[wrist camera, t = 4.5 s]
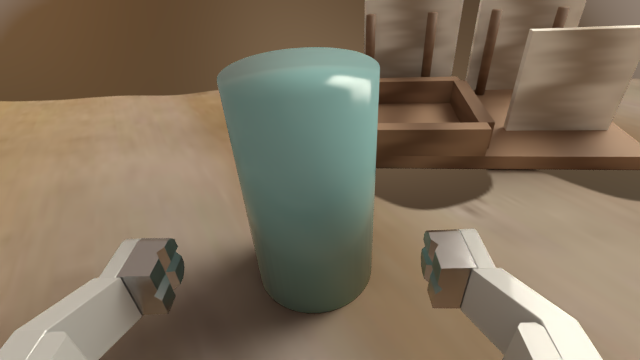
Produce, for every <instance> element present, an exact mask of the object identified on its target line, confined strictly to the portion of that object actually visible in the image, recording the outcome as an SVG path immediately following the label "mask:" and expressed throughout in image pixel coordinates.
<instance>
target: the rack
mask: <svg viewBox="0 0 640 360" xmlns="http://www.w3.org/2000/svg"><path fill="white" fill-rule="evenodd" d="M585 4H586V0H480V5H479V10H478V15H477V21H476V26H475V31H474V37H473V42H472V48H471V53H470V59H469V64H468V70H467V75H466V80H459V78H458V77H457V76H453V77H451V75H452V69H453V63H454V57H455V50H456V43H457V38H458V31H459V25H460V19H461V13H462V6H463V0H365V32H364V33H365V34H364V54H365V55H368V56H370V57H372V58H373V59H375V60H376V61H377V62H378V63H379V66H380V79H379V102H378V126H377V149H376V168H432V169H439V168H440V169H441V168H442V169H444V168H445V169H578V170H579V169H580V170H591V169H592V170H640V143H639V142H638V141H636V140H635V139H634V138H632V137H631V136H630V135H628V134H627V133H626V132H625V131H623V130H622V129H621V128H619V127H618V126H617V125H615V124H614V123H613V122H612V120H613V118H614V115H615V113H616V111H617V109H618V107H619V104H620V102H621V100H622V98H623V96H624V93H625V91H626V89H627V87H628V85H629V83H630V80H631V78H632V76H633V74H634V71H635V69H636V67H637V65H638V63H639V61H640V25H632V26H604V27H578V24H579V21H580V18H581V15H582V12H583V9H584V6H585Z"/></svg>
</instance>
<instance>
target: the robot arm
mask: <svg viewBox="0 0 640 360" xmlns="http://www.w3.org/2000/svg"><path fill="white" fill-rule="evenodd" d="M423 240H424V243H425V247H424V248H423V249H422V252H421V268H422V273H423V277H424V279H425V280H426V281H428V282H429V284H428V290H427V291H428V294H429V297H430V301H431V304H432V307H433V308H461V311H462V312H463V313H464V314H465V315H466V316H467V317H468V318H469V319H470V320H471V321H472V322H473V323H474V324H475V325H476V326H477V327H478V328H479V329H480V330H481V331H482V333H483V334H484V335H485V336H486V337H487V338H488V339H489V340H490V341H491V342H492V343H493V344H494V345H495V346H496V347H497V348H498V349H499V350H500V351H501V352H502V353H503V354H504V357H503V359H502V360H602V358H601V357H600V355H599V354H598V352H597V350H596V349H595V347H594V346H593V344H592V343H591V341H590V340H589V338H588V337H587V335H586V333H585V332H584V330H583V329H582V327H581V326H580V324H579V323H578V321H577V320H575V319H574V318H573V317H571V316H570V315H568V314H567V313H565V312H564V311H562V310H561V309H560V308H558V307H557V306H555V305H554V304H552V303H551V302H550V301H548V300H547V299H545V298H544V297H542V296H541V295H539V294H538V293H537V292H535V291H534V290H532V289H531V288H529V287H528V286H526V285H525V284H524V283H522V282H521V281H519V280H518V279H516V278H515V277H513V276H512V275H511V274H509V273H508V272H506V271H505V270H503V269H502V268H496V267H495V265H494V263H493V261H492V259H491V257H490V255H489V253H488V251H487V249H486V247H485V246H484V244H483V242H482V240H481V238H480V236H479V234H478V232H477V231H476V230H475V229H458V230H431V231H426V232H425V234H424V239H423ZM177 247H178V246H177V244H176V242H175V239H171V238H142V239H126V240H124V241H123V242H122V243H121V245H120V246H119V248H118V249H117V251H116V252H115V254H114V255H113V257H112V258H111V260H110V261H109V263H108V264H107V266H106V267H105V269H104V270H103V272H102V273H101V275H100V276H99V278H93V279H92V280H90V281H89V282H87V283H86V284H84V285H83V286H81V287H80V288H78V289H77V290H75V291H74V292H72V293H71V294H69V295H68V296H66V297H65V298H63V299H62V300H60V301H59V302H57V303H56V304H54V305H53V306H51V307H50V308H48V309H47V310H45V311H44V312H42V313H41V314H39V315H38V316H36V317H35V318H33V319H32V320H30V321H29V322H27V323H26V324H24V325H23V326H21V327H20V328H18V329H17V330H15V331H14V332H13V334H12V335H11V336H10V338H9V339H8V340H7V341H6V343H5V344H4V345H3V347H2V348H1V349H0V360H99V359H100V358H101V357H102V356H103V355H104V354H105V353H106V352H107V351H108V350H109V349H110V348H111V347H112V346H113V345H114V344H115V343H116V342H117V341H118V340H119V339H120V338H121V337H122V336H123V335H124V334H125V333H126V332H127V331H128V330H129V329H130V328H131V327H132V326H133V325H134V324H135V323H136V322H137V321H138V320H139V319H140V318H141V317H142V315H154V314H168V313H169V311H170V309H171V306H172V304H173V301H174V299H175V293H174V291H173V290H174V289H176V288H177V287H178V286H179V285H180V284H181V282H182V279H183V275H184V261H183V259H182V256H181V255H179V254H178V253H176V252H175V251H176V249H177Z"/></svg>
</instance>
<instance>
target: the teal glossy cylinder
mask: <svg viewBox="0 0 640 360" xmlns="http://www.w3.org/2000/svg"><path fill="white" fill-rule="evenodd" d="M379 79H380V66H379V63H378V62H377V61H376V60H375V59H373V58H372V57H370V56H368V55H365V54H363V53H359V52H356V51H351V50H345V49H338V48H324V47H307V48H292V49H283V50H277V51H270V52H265V53H261V54H257V55H253V56H250V57H247V58H244V59H241V60H239V61H236V62H234V63H232V64H230V65H229V66H227V67H225V68H224V69H223V70H222V71H221V72H220V73H219V74H218V77H217V84H218V88H219V93H220V97H221V102H222V106H223V110H224V115H225V119H226V124H227V128H228V133H229V137H230V141H231V146H232V150H233V155H234V159H235V164H236V168H237V173H238V177H239V181H240V186H241V190H242V195H243V199H244V204H245V208H246V212H247V217H248V221H249V226H250V230H251V235H252V239H253V244H254V248H255V252H256V257H257V261H258V266H259V270H260V275H261V279H262V282H263V285H264V287H265V289H266V291H267V292H268V294H269V295H270V296H271V297H272V298H273V299H274V300H275V301H276V302H278V303H279V304H280V305H282V306H284V307H286V308H289V309H291V310H294V311H298V312H304V313H322V312H328V311H332V310H335V309H338V308H341V307H343V306H345V305H347V304H349V303H350V302H352V301H353V300H354V299H356V298H357V297H358V296H359V295H360V294H361V293H362V291H363V290H364V289H365V287H366V285H367V284H368V281H369V279H370V275H371V264H372V241H373V218H374V195H375V172H376V149H377V126H378V102H379Z"/></svg>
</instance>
